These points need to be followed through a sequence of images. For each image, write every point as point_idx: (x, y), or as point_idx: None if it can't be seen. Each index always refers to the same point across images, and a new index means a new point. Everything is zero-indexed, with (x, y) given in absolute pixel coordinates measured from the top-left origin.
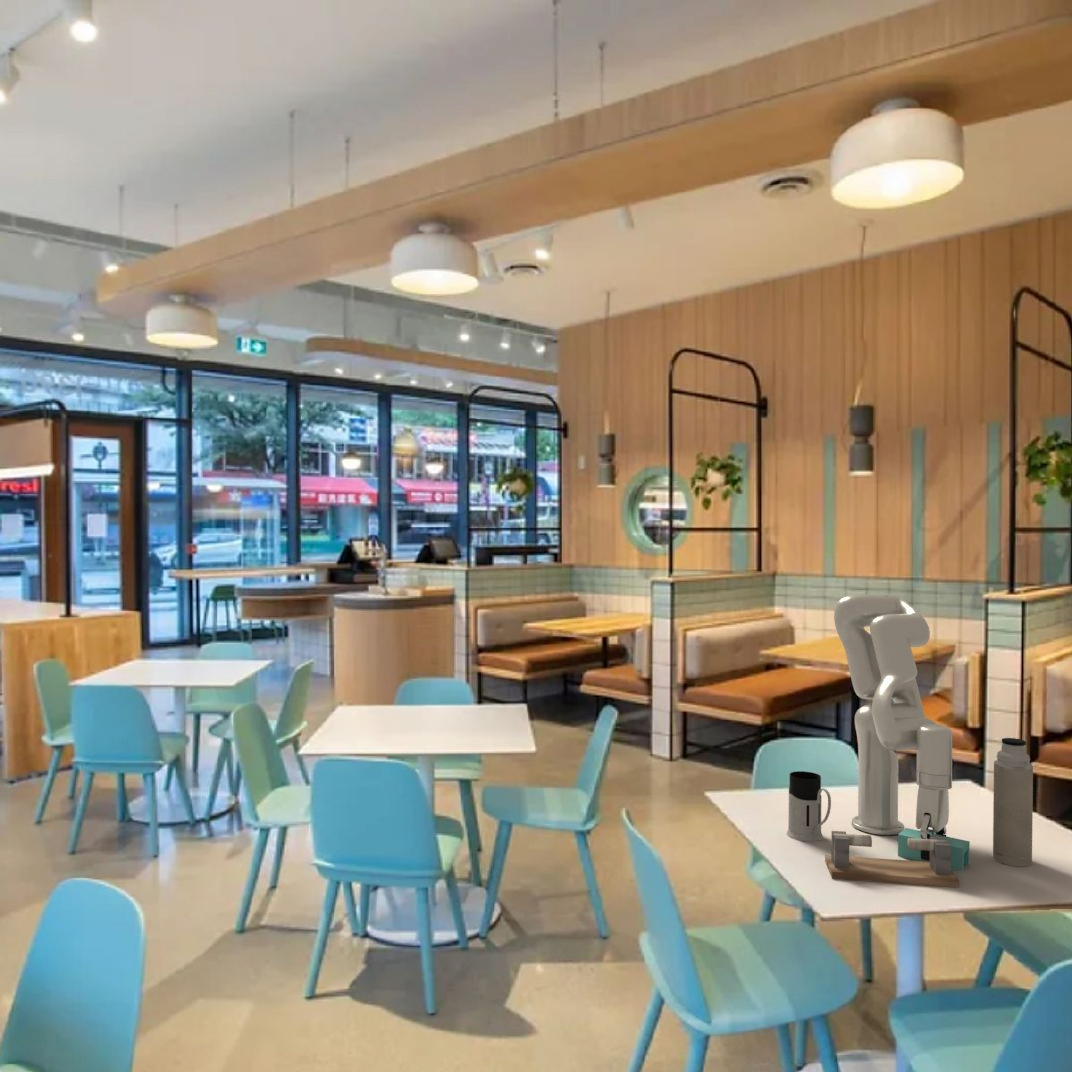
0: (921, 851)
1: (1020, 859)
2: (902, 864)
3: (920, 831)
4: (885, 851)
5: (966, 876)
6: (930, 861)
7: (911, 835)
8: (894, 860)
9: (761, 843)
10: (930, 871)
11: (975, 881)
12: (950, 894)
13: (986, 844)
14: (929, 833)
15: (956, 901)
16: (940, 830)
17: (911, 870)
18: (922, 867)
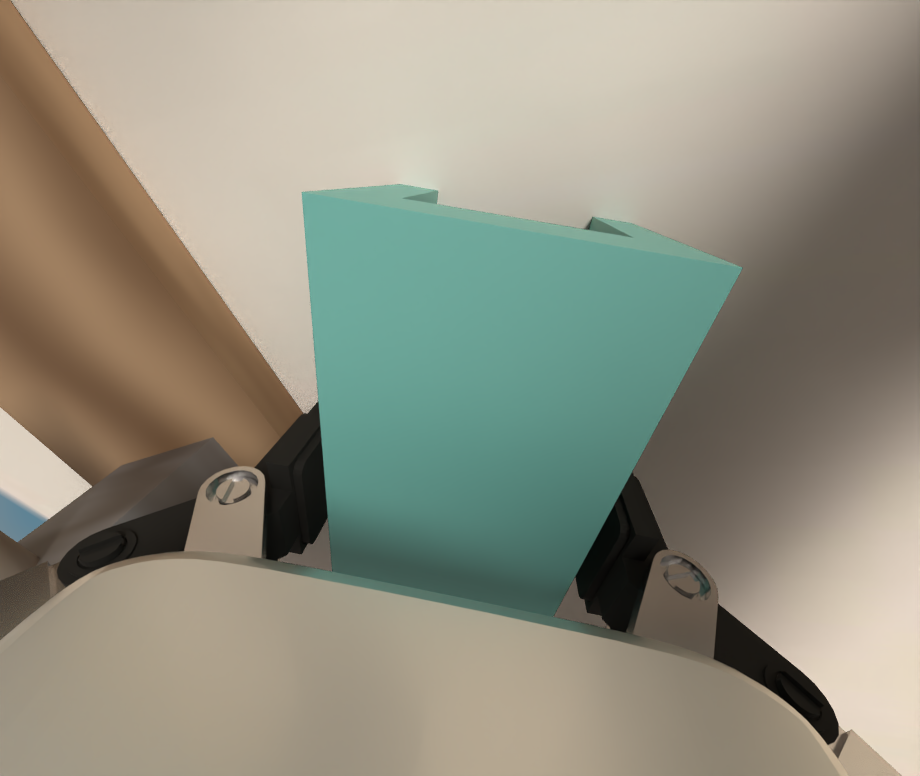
0: (315, 410)
1: None
2: (71, 284)
3: (615, 453)
4: (460, 18)
5: (328, 537)
6: (168, 465)
7: (386, 373)
8: (80, 209)
9: None
10: (134, 443)
11: (297, 558)
12: (81, 487)
13: (872, 626)
14: (579, 524)
15: (43, 502)
16: (626, 625)
17: (37, 352)
18: (150, 405)
